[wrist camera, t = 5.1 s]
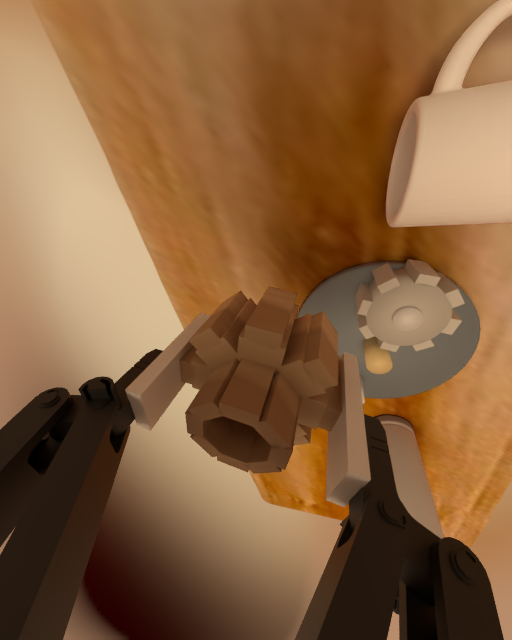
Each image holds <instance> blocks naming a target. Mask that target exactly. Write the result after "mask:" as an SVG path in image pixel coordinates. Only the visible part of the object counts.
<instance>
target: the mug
mask: <svg viewBox="0 0 512 640" xmlns="http://www.w3.org/2000/svg"><path fill="white" fill-rule="evenodd" d="M511 15H512V0H497V1H496V2H495V3H494V4H492V5H491V6H490V7H489V8H488V9H486V10H485V11H484V12H483V13H482V14H481V15H480V16H479V17H478V18H477V19H476V20H475V21H474V22H473V23H472V24H471V25H470V26H469V27H468V28H467V29H466V31H465V32H464V33H463V34H462V35H461V37H460V38H459V39H458V41H457V42H456V43H455V45H454V46H453V48H452V49H451V51H450V53H449V54H448V56H447V58H446V59H445V61H444V63H443V65H442V68H441V70H440V72H439V74H438V77H437V79H436V82H435V84H434V87H433V90H432V93H431V94H430V95H429V96H424V97H419V98H417V99H416V100H415V101H414V102H413V103H412V104H411V106H410V107H409V109H408V111H407V113H406V115H405V118H404V120H403V123H402V126H401V129H400V132H399V135H398V138H397V142H396V146H395V150H394V154H393V158H392V163H391V168H390V173H389V180H388V187H387V195H386V219H387V223H388V225H389V226H390V227H414V226H439V225H464V224H489V223H512V80H509V81H503V82H498V83H493V84H487V85H482V86H477V87H471V88H466V89H464V88H463V87H462V83H463V80H464V78H465V75H466V73H467V71H468V69H469V66H470V64H471V62H472V61H473V59H474V57H475V55H476V53H477V52H478V50H479V49H480V47H481V46H482V44H483V43H484V41H485V40H486V39H487V37H488V36H489V35H490V34H491V32H492V31H493V30H494V29H495V28H496V27H497V26H498V25H499V24H500V23H501V22H502V21H504V20H505V19H506V18H508V17H509V16H511Z"/></svg>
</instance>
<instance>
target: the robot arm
mask: <svg viewBox="0 0 512 640" xmlns="http://www.w3.org/2000/svg"><path fill="white" fill-rule="evenodd" d="M209 317H210V315H206V314H202V313H200V314H199V315H198V316H197V317H196V318H195V319H194V321H193V322H192V323H191V324H190V325H189V326H188V327H187V328H186V329H185V330H184V331H183V332H182V333H181V334H180V335H179V336H178V337H177V338H176V339H175V340H174V341H173V342H172V343H171V344H170V345H169V346H168V347H167V348H166V349H165V350H164V351H161V350H158V349H155V350H153V351H151V352H149V353H147V354H146V355H145V356H144V357H142V358H141V359H140V361H139V362H137V363H136V364H135V365H134V367H132V368H131V369H130V370H129V371H127V373H125V374H124V375H123V376H122V377H121V378H120V379H119V380H118V381H117V382H116V383H115V384H114V382H113V380H112V379H110V378H108V377H96V378H94V379H91V380H89V381H87V382H86V383H84V384H83V385H82V386H81V387H80V388H79V391H80V393H81V395H70V394H69V392H68V391H67V389H65V388H53V389H49V390H46V391H44V392H42V393H41V394H39V395H38V396H36V397H35V398H34V399H33V400H32V401H31V402H30V403H29V404H28V405H27V406H25V407H24V408H23V409H22V410H21V411H20V412H19V413H18V414H17V415H16V416H15V417H13V418H12V419H11V420H10V421H9V422H8V423H7V424H6V425H5V426H4V427H3V428H2V429H1V430H0V547H1V545H2V544H3V543H4V541H5V540H6V539H7V537H8V536H9V534H10V533H11V532H12V531H13V529H14V528H15V529H14V531H13V533H12V535H11V537H10V538H9V540H8V542H7V544H6V546H5V547H4V549H3V551H2V553H1V555H0V640H63V637H64V634H65V631H66V628H67V625H68V621H69V619H70V616H71V612H72V609H73V606H74V603H75V600H76V597H77V594H78V591H79V588H80V584H81V582H82V578H83V575H84V572H85V569H86V566H87V563H88V560H89V557H90V554H91V550H92V547H93V544H94V541H95V538H96V535H97V532H98V529H99V526H100V522H101V520H102V516H103V513H104V510H105V507H106V504H107V501H108V498H109V495H110V492H111V489H112V486H113V482H114V479H115V476H116V473H117V470H118V467H119V464H120V461H121V457H122V454H123V451H124V448H125V445H126V442H127V439H128V436H129V433H130V424H131V423H132V422H133V420H134V419H135V420H136V423H137V425H138V426H140V427H143V428H145V429H148V430H151V429H152V428H153V426H154V425H155V424H156V422H157V421H158V420H159V418H160V417H161V415H162V414H163V413H164V412H165V410H166V409H167V407H168V406H169V405H170V403H171V402H172V400H173V399H174V398H175V396H176V395H177V394H178V392H179V391H180V390H181V388H182V387H183V385H184V384H185V383H186V382H183V381H182V380H181V371H180V362H179V360H180V359H181V358H182V357H183V356H184V355H185V353H186V352H187V351H188V350H189V349H190V348H191V346H192V344H191V343H190V341H189V339H190V338H191V337H192V336H193V335H194V334H195V333H196V331H197V330H198V329H199V328H200V327H201V326H202V325H203V324H204V323H205V321H206V320H207V319H208V318H209ZM340 363H341V404H342V413H341V415H340V416H339V418H338V420H337V422H336V424H335V425H334V427H333V429H332V431H328V452H327V480H326V500H328V501H330V502H333V503H335V504H338V505H340V506H343V507H345V506H346V505H347V504H348V503H349V515H348V516H347V517H346V518H345V519H344V520H343V521H342V523H341V524H340V525H341V526H342V530H341V532H340V534H339V537H338V539H337V542H336V544H335V546H334V549H333V551H332V553H331V556H330V558H329V560H328V563H327V565H326V568H325V570H324V572H323V574H322V577H321V580H320V582H319V584H318V586H317V588H316V591H315V593H314V596H313V598H312V601H311V603H310V605H309V607H308V610H307V612H306V615H305V617H304V620H303V621H302V624H301V626H300V629H299V631H298V633H297V636H296V638H295V640H387V636H388V631H389V626H390V622H391V617H392V612H393V608H394V604H395V599H396V594H397V590H398V585H399V627H400V630H399V631H400V640H504V639H503V634H502V630H501V626H500V622H499V618H498V613H497V609H496V605H495V601H494V597H493V592H492V588H491V584H490V581H489V578H488V576H487V573H486V570H485V569H484V567H483V565H482V564H481V562H480V561H479V559H478V558H477V557H476V555H475V554H474V553H473V552H472V551H471V550H470V549H469V548H468V547H467V546H466V545H464V544H463V543H462V542H460V541H459V540H457V539H454V538H451V537H446V538H442V539H441V538H439V537H438V536H437V535H435V534H434V533H433V532H431V531H430V530H429V529H427V528H426V527H424V526H423V525H422V524H420V523H419V522H418V521H417V520H415V519H414V518H413V517H412V516H411V515H410V514H409V513H408V511H407V509H406V508H405V506H404V505H403V503H402V502H401V501H400V498H399V496H398V493H397V489H396V484H395V479H394V473H393V468H392V463H391V458H390V454H389V447H388V444H387V436H386V431H385V429H384V427H383V425H382V424H381V422H380V420H379V419H377V418H374V417H371V416H367V415H364V413H363V404H362V395H361V386H360V377H359V368H358V359H357V356H356V355H352V354H349V353H345V352H344V353H343V355H342V357H341V359H340ZM16 525H17V526H16Z"/></svg>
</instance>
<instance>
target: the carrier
mask: <svg viewBox="0 0 512 640" xmlns="http://www.w3.org/2000/svg"><path fill="white" fill-rule="evenodd" d="M322 311H324V313H325V314H326V316H327V317H328V319H329V320H330V322H331V323H332V325H333V326H334V328H335V329H336V331H337V332H338V356H340V359H341V357H342V355H343V353H344V352H345V353H349V354H352V355H356V356H357V359H358V368H359V377H360V386H361V395H362V404H364V403H365V400H364V397H367V398H399V397H405V396H410V395H414V394H418V393H422V392H424V391H427V390H430V389H432V388H434V387H437V386H439V385H441V384H442V383H444V382H446V381H447V380H449V379H450V378H452V377H453V376H454V375H456V374H457V373H458V372H459V371H460V370H461V369H462V368H463V367H464V366H465V365H466V364H467V363H468V361H469V360H470V359H471V357H472V355H473V354H474V352H475V350H476V348H477V344H478V341H479V337H480V321H479V317H478V314H477V311H476V308H475V306H474V305H473V303H472V301H471V300H470V298H469V297H468V296H467V295H466V294H465V293H464V292H463V290H462V289H461V288H460V287H458V286H457V285H456V284H455V283H454V282H453V281H451V280H450V279H449V278H448V277H446V276H445V275H443V274H442V273H441V272H437V271H436V270H433V269H432V268H431V267H430V266H429V265H428V264H427V263H426V262H422V261H417V260H411V259H408V260H407V262H401V261H378V262H370V263H365V264H361V265H356V266H353V267H351V268H348V269H345V270H343V271H341V272H339V273H336V274H334V275H333V276H331V277H329V278H328V279H326V280H325V281H323V282H322V283H321V284H320V285H318V286H317V287H316V288H315V289H314V290H313V291H312V292H311V293H310V294H309V296H308V297H307V299H306V300H305V301H304V303H303V305H302V307H301V309H300V311H299V314H298V317H297V319H298V318H300V317H302V316H304V315H306V314H308V313H310V314H311V315H312V316H313V315H315V314H317V313H319V312H322Z"/></svg>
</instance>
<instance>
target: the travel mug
mask: <svg viewBox="0 0 512 640" xmlns="http://www.w3.org/2000/svg"><path fill="white" fill-rule="evenodd" d="M375 418H377V419H379V420H380V422H381V424H382V425H383V427H384V429H385V431H386V436H387V444H388V447H389V454H390V458H391V463H392V468H393V473H394V479H395V484H396V489H397V493H398V496H399V498H400V501H401V502H402V503H403V505H404V506H405V508H406V509H407V511H408V513H409V514H410V515H411V516H412V517H413V518H414V519H415V520H417V521H418V522H419V523H420V524H422V525H423V526H424V527H426V528H427V529H429V530H430V531H431V532H433V533H434V534H435V535H437V536H438V537H439V538H441V539H442V538H444V534H443V531H442V527H441V524H440V521H439V517H438V514H437V510H436V507H435V503H434V500H433V496H432V493H431V489H430V486H429V482H428V479H427V475H426V472H425V468H424V465H423V462H422V458H421V455H420V451H419V448H418V444H417V441H416V437H415V434H414V430H413V427H412V425H411V424H410V423H409V422H408V421H407V420H405V419H403V418H401V417H398V416H393V415H382V416H378V417H375ZM393 611H394V612H395V613H396V614H399V585H398V590H397V594H396V599H395V604H394V608H393Z"/></svg>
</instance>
